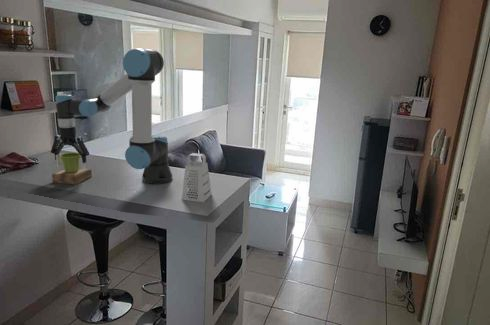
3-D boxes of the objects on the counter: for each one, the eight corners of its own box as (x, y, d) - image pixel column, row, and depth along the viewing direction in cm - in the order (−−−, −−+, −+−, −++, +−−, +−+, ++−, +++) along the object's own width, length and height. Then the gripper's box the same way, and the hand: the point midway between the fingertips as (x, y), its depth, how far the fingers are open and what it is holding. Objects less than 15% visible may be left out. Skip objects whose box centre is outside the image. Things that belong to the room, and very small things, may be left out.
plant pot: (73, 167, 195) (71, 151, 193) (86, 170, 191) (84, 154, 189) (57, 172, 187) (55, 155, 185) (70, 175, 183) (68, 158, 181)
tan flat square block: (91, 176, 195) (91, 168, 194) (75, 184, 183) (75, 176, 182) (70, 174, 198) (69, 166, 196) (52, 182, 185) (51, 173, 184)
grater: (203, 202, 165) (203, 158, 159) (181, 199, 167) (180, 156, 162) (211, 194, 174) (211, 152, 169) (191, 191, 177) (190, 150, 172)
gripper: (94, 126, 184) (97, 167, 190) (50, 123, 189) (55, 163, 195) (84, 129, 177) (89, 172, 183) (39, 126, 182) (44, 167, 188)
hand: (71, 167), depth 189 cm, fingers open, 13 cm apart
